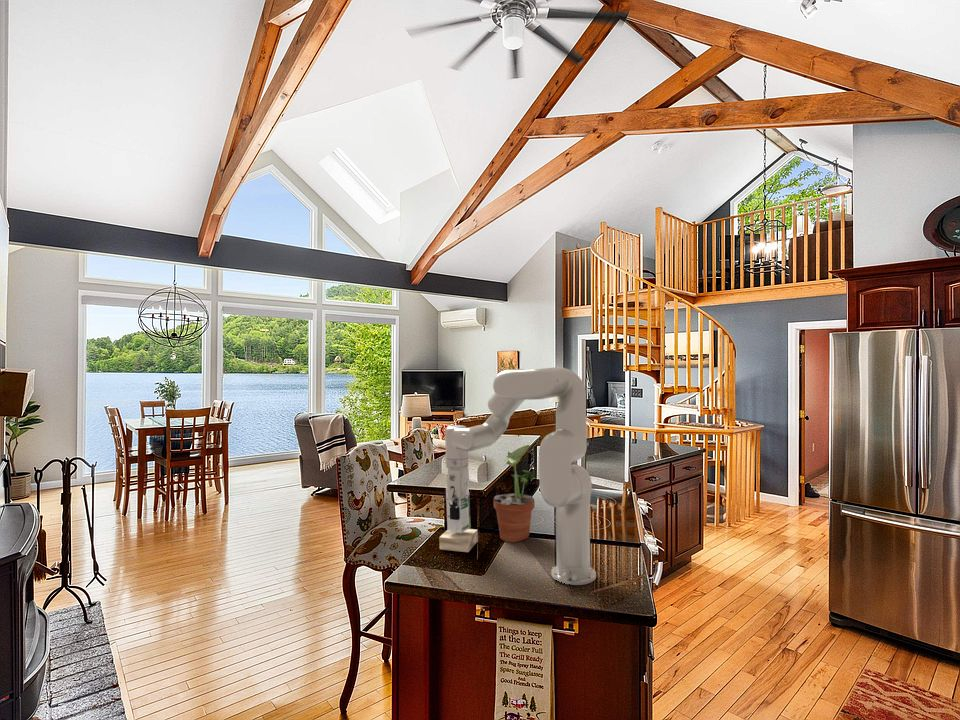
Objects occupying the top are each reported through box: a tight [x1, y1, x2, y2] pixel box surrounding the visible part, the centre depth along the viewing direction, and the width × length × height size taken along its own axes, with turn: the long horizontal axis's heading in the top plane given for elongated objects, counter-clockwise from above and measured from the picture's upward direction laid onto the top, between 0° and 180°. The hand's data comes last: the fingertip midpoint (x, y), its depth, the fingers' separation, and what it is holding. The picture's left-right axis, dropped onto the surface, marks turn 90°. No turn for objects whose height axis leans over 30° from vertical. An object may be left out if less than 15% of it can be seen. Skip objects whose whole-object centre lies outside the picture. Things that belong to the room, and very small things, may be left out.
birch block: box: [438, 528, 479, 553], centre depth 175 cm, size 10×10×4 cm
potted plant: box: [493, 444, 535, 543], centre depth 182 cm, size 16×15×35 cm
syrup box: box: [445, 486, 472, 533], centre depth 174 cm, size 6×6×14 cm
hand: (458, 515), depth 174 cm, fingers closed on syrup box, 6 cm apart
